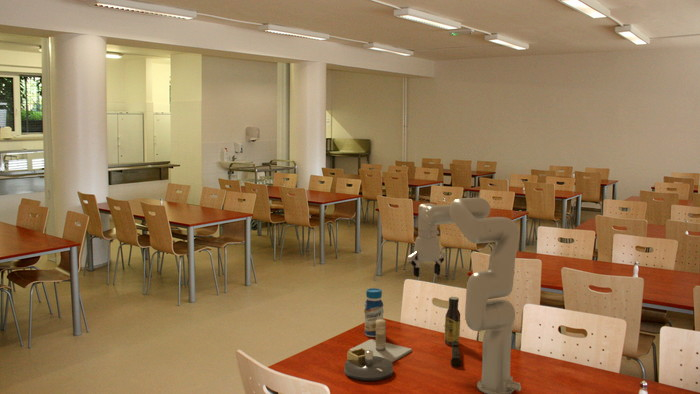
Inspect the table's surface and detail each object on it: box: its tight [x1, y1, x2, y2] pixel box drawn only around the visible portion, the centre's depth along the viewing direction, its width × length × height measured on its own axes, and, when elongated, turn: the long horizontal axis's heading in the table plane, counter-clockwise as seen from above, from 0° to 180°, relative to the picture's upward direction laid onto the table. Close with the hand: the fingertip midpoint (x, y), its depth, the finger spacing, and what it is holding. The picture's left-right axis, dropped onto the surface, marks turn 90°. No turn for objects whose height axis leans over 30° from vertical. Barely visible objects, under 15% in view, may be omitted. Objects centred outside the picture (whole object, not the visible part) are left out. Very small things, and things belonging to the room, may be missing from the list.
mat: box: [348, 338, 413, 363], centre depth 251 cm, size 20×16×1 cm
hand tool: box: [450, 341, 462, 368], centre depth 244 cm, size 19×4×5 cm, turn 169°
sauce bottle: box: [443, 296, 461, 346], centre depth 260 cm, size 6×6×20 cm
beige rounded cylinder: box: [375, 318, 387, 351], centre depth 250 cm, size 4×4×12 cm
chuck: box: [344, 348, 394, 382], centre depth 230 cm, size 18×18×8 cm
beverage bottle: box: [363, 287, 385, 338], centre depth 271 cm, size 8×8×20 cm
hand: (426, 275), depth 254 cm, fingers open, 9 cm apart
